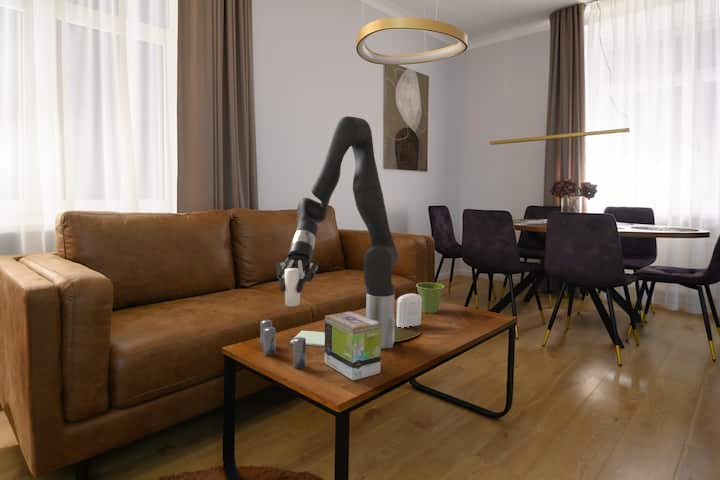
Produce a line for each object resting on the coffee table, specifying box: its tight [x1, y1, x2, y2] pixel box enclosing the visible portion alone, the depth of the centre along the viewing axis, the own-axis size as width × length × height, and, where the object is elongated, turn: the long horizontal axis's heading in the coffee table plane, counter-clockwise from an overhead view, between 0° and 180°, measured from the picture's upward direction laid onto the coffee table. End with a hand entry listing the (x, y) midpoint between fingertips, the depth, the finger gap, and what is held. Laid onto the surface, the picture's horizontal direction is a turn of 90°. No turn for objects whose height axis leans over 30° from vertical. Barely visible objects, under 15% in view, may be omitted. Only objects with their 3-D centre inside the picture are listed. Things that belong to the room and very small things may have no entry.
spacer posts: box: [260, 319, 307, 370], centre depth 133 cm, size 28×18×8 cm, turn 79°
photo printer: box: [395, 293, 422, 329], centre depth 164 cm, size 10×4×12 cm, turn 123°
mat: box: [289, 330, 325, 347], centre depth 149 cm, size 12×12×1 cm
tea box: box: [324, 310, 382, 381], centre depth 124 cm, size 15×10×15 cm, turn 35°
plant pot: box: [415, 282, 445, 314], centre depth 184 cm, size 12×12×11 cm
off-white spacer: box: [284, 268, 301, 307], centre depth 135 cm, size 4×4×11 cm
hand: (290, 291), depth 134 cm, fingers closed on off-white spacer, 4 cm apart
